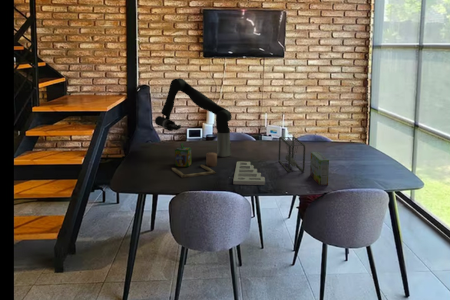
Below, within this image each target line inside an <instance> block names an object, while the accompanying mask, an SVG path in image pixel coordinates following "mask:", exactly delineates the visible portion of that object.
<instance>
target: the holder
mask: <svg viewBox="0 0 450 300" xmlns="http://www.w3.org/2000/svg"><path fill="white" fill-rule="evenodd" d="M254 167H255V166H254V165H253V164H251V161H236V165H235V169H234V174H233V180H232V181H233V183H232V184H233V185H243V186H244V185H245V186H246V185H248V186H249V185H251V186H255V185H256V186H264V185H266V178H265V176H262V173H261V172H258V168H254Z"/></svg>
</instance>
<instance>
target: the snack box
mask: <svg viewBox="0 0 450 300" xmlns="http://www.w3.org/2000/svg"><path fill="white" fill-rule="evenodd" d="M309 163H310V165H309V166H310V171H309V172H310V173H309V174H310V176H311V178H313V180H314V181H315V182H316V183H317V184H318V186H328V185H329V167H330V160H329V159H328V158H327V157H325V156H324V154H322V153H321V152H319V151H310V162H309Z"/></svg>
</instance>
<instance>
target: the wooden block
mask: <svg viewBox="0 0 450 300" xmlns="http://www.w3.org/2000/svg"><path fill="white" fill-rule="evenodd" d="M205 155H206V157H205V158H206V160H205V161H206V166H207V167H209V168H210V167H211V168H212V167H213V168H214V167H217V166H218V156H217V152H207V153H206V154H205Z"/></svg>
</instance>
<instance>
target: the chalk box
mask: <svg viewBox="0 0 450 300" xmlns="http://www.w3.org/2000/svg"><path fill="white" fill-rule="evenodd" d="M174 162H175V164H174V165H175V168H176V167H180V168H182V167H183V168H186V167H187V168H189V167H190V166H191V165H192V147H185V146H184V143H183V142H182V143H181V144H180V147H179V146H178V147H177V148H176V149H174Z"/></svg>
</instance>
